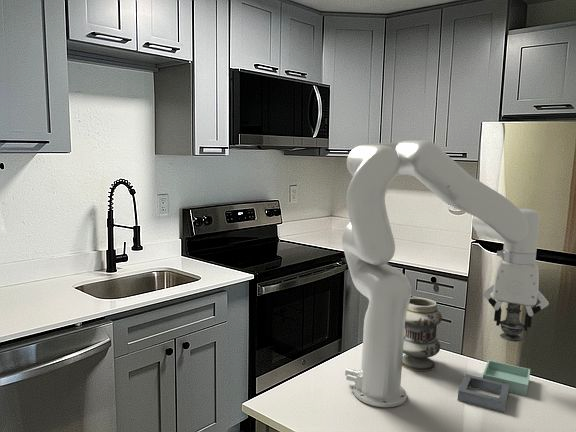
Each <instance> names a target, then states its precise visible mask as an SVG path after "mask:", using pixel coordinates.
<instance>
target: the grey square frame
mask: <svg viewBox="0 0 576 432" xmlns="http://www.w3.org/2000/svg"><path fill="white" fill-rule="evenodd" d="M509 386H510V384H506V383H502V382H497V381H493V380H489V379H485V378H483V377H481V376H480V377H479V376H476V375H472V374H467V373H465V375H464V377H463V379H462V381H461V383H460V386H459V388H458V391H457V401H458V402H459V401H460V402H462V403H466V404H470V405H474V406H478V407H482V408H486V409H489V410H493V411H497V412H501V413H505V412H506V407H507V403H508V397H509V394H510V392H509ZM470 388H474V389H477V390H481V391H484V392H488V393H493V394H497V395H499V397H496V396H492V395H489V394H485V393H481V392H477V391H472V390H470Z"/></svg>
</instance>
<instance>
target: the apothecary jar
mask: <svg viewBox="0 0 576 432" xmlns="http://www.w3.org/2000/svg"><path fill="white" fill-rule="evenodd" d="M442 319H443V316H442V313H441V312H440V310H439V309H438V306H437V302H436V301H434V300H432V299H430V298H429V299H428V298H425V297H411V298H410V302H409V305H408V309H407V314H406V320H405V330H404V345H403V358H402V368H405V369H407V370H411V371H416V372H427V371H432V370H433V369H434V368H435V366H436V364H435V361H433V360H432V359H431V357H434V356H436V355H437V354H438V353H440V350H441V343H440V341H439V340H438V339H437V325H439V324H441V322H442Z"/></svg>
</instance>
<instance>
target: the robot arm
mask: <svg viewBox="0 0 576 432" xmlns="http://www.w3.org/2000/svg"><path fill="white" fill-rule="evenodd" d="M346 167H347V170H348V172H349V174H350V175H351V176H352V178H351V180H350V182H349V185H348V188H347V192H346V207H347V214H348V217H349V221H350V222H349V223H348V224H347V225H346V226H345V228H344V229H343V233H342V237H341V242H342V249H343V252H344V256H345V259H346V260H345V261H346V263H347V267H348V270H349V273H350V277H351V279H352V283H353V285H354V287H355V288H356V290H357V291H358V292H359V293H360V294H362V295H363V296H364V297H366V298H367V299H368V306H367V309H366V312H365V314H364V320H363V330H362V331H363V335H362V338H363V339H362V349H361V350H362V352H361V367H360V368H361V369H359V370H355V369H352V368H348V367H347V368H346V369H345V372H344V375H345V378H346V381H350V382H354V383H355V384H354V386H353V394H354V397H356V399H358V400H359V401H361V402H363V403H364V404H367V405H369V406H373V407H378V408H395V407H398V406H401V405H403V404H404V403H405V402H406V401H407V391H406V389H405V388H404V387H403V386H401V385H402V384H401V383H402V382H401V381H402V369H403V366H402V358H403V356H404V353H403V345H404V330H405V320H406V314H407V309H408V305H409V302H410V298H412V297H411V296H412V286H411V283H410V281H409V279H408V277H407V276H406V275H405V274H404V273H403V272H402V271H400V270H399V269H397V268H395V267H394V266H392V265H390V264H388V263H389V262H390V261H391V260H392V259H393V257H394V256H395V252H396V243H395V238H394V235H393V232H392V227H391V224H390V221H389V216H388V212H387V207H386V194H387V190H388V188H389V186H390V184H391V183H392V181H393V180H394V179H395V178H396V177H398V176H412V177H414V178H416V179H417V180H418V181H419V182H421V184H423V185H424V186H425V187H426V188H428V189H429V191H431V192H432V193H433V194H435V196H437V197H438V198H439V199H440V200H441V201H442V202H444V203H445V204H446V205H449V206H451V207H452V208H453V209H456V210H458V211H462V212H465V213H466V214H469V215H470V216H472V220H471V224H472V228H473V229H474V230H475V231H476V232H477V233H478V234H479V235H481V236H483V237H486V238H489V239H493V240H497V241H500V242H503V249H502V250H497V251H496V257H499V258H501V260H499V261H498V263H497V267H496V271H495V276H494V281H493V284H491V286H489V287H488V288H487V289H486V290H484V291H483V292H482V296H483V297H484V298H485V299H486V300H487V301H488V303H489V304H490V305H491V306H492V307H493V310H494V316H493V317H494V318H493V321H494V322H496V324H495V325H496V326H498V327H499V326H501V324H500V321H502V312H503V311H502V310H503V309H502V304H503V303H507V304H508V303H513V304H519V305H520V306H525V308H526V313H525V316H524V317H525V318H524V328H523V331H525V332H528V328H530V329H531V328H532V322H533V321H532V320H533V316H534V315H536V314H537V313H539V312H541V310H543V309H545V308H547V307H549V301H548V300H547V298H546V297H545V296H544V295H543V293H542V292H540V290H539V285H540V283H539V282H540V281H539V280H540V277H539V276H540V272H539V271H540V270H539V265H538V264H537V263H536V259H537V249H538V241H539V240H538V239H539V233H540V232H539V231H540V230H539V229H540V223H541V222H540V220H541V215H540V212H539V211H538V210H534V209H530V208H518V207H517V206H516V205H515V204H514V203H513V202H512V201H510V200H509V199H508V198H507V197H506V196H504V195H502V194H501V193H499V192H498V191H496V190H495V189H493V188H492V187H490V186H488V185H486V184H485V183H483V182H482V181H480V180H478V179H477V178H475V177H473V176H472V175H470V173H468V172H467V171H466V170H465V169H464V168H463V167H461V166H460V165H459V164H458V163H457V162H456V161H455V160H454V159H452V157H450V156H449V155H448V154H447V153H446V152H445V151H443V149H442V148H440V146H438V145H437V144H436V143H433V142H432V141H430V140H425V139H420V140H419V139H418V140H417V139H416V140H415V139H413V140H411V139H409V140H399V141H393V142H382V143H381V142H379V143H372V144H370V143H368V144H361V145H360V144H359V145H358V146H355V147H354V148H353V149H352V150H351V151H349V154H348V156H347V158H346ZM491 294H492V295H491ZM538 301H539V302H540V303H538ZM537 303H538V304H537ZM533 306H534V307H533Z"/></svg>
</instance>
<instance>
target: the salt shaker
mask: <svg viewBox="0 0 576 432" xmlns="http://www.w3.org/2000/svg"><path fill="white" fill-rule="evenodd" d="M505 310H506V317H505V319H504V320H501V321H500V329H501V330H502V333H501V334H499V337H500V338H501V339H503V340H505V341H509V342H515V343H517V342H522V340H523V338H522V337H521V336H520V335H521V334H522V333H523V331H524V326H525V324H523V323H522V322H520V321H521V320H520V316H521V315H520V313H522V310H521V305H519V304H513V303H507V307H506V308H505Z"/></svg>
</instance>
